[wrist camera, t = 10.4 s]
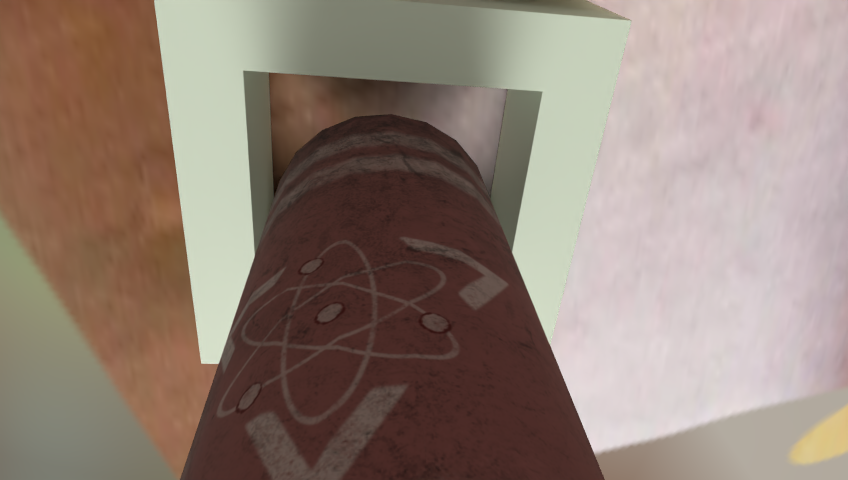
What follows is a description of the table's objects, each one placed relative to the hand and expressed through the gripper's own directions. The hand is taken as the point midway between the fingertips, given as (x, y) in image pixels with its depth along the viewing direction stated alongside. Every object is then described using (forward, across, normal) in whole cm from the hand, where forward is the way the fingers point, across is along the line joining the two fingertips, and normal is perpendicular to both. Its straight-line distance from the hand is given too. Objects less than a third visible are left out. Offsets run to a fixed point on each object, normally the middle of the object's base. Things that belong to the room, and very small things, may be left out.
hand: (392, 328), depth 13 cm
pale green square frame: (+9, 0, 0) cm, 9 cm away
